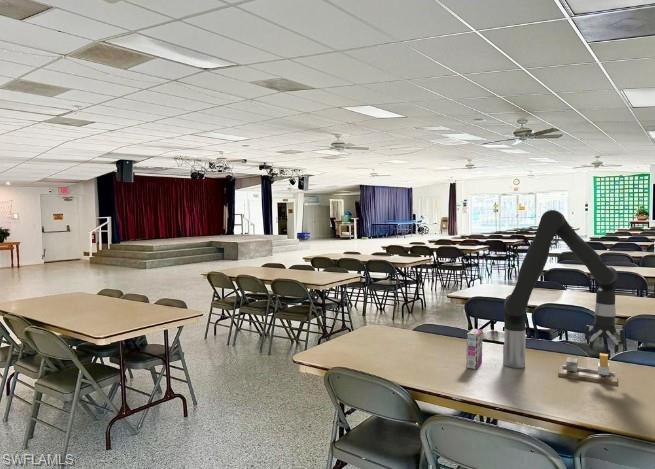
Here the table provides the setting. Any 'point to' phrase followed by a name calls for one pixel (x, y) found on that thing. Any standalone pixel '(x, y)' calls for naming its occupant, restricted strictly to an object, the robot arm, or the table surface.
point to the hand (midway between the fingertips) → (603, 351)
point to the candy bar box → (474, 349)
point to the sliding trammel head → (603, 365)
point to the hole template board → (585, 373)
